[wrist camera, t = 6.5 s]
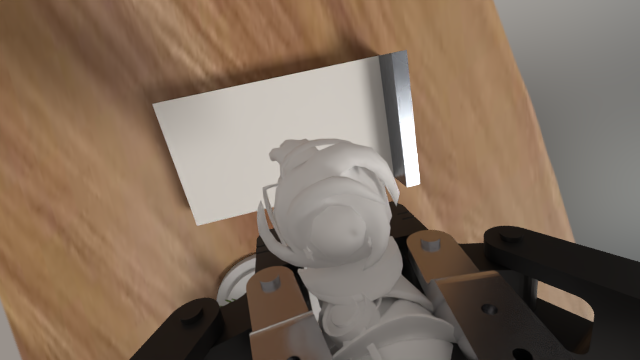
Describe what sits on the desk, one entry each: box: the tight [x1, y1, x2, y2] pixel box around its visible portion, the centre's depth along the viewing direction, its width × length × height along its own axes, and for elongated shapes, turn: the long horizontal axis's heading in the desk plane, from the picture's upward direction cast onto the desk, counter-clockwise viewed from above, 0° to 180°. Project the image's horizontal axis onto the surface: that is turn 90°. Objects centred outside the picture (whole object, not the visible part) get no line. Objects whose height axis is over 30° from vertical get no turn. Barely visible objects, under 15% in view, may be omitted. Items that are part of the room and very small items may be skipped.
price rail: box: [379, 50, 420, 187], centre depth 27 cm, size 11×1×3 cm, turn 12°
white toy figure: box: [257, 138, 457, 360], centre depth 9 cm, size 9×4×12 cm, turn 17°
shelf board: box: [152, 54, 394, 226], centre depth 29 cm, size 11×20×3 cm, turn 102°
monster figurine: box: [217, 254, 321, 321], centre depth 31 cm, size 12×12×10 cm
